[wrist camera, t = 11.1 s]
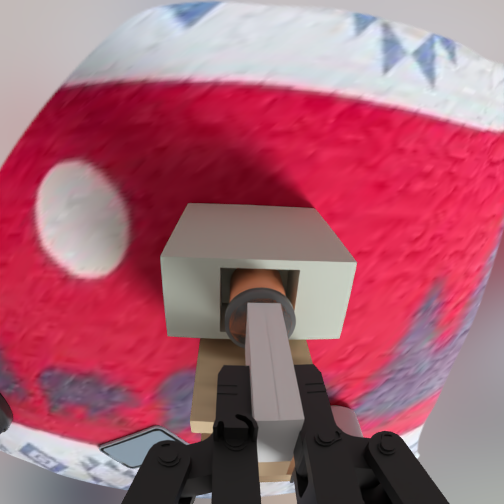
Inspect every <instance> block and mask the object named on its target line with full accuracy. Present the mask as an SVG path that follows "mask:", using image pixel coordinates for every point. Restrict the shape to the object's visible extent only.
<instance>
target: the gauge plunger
mask: <svg viewBox="0 0 504 504" xmlns="http://www.w3.org/2000/svg"><path fill="white" fill-rule="evenodd" d="M248 303H281V308H282V313H283V317H284V322H285V327H286V331H287V336H288V339H289V338H290V336H291V335H292V333H293V332H294V329H295V325H296V317H295V313H294V309H293V306H292V304H291V302H290V300H289V299H288V298H287V297H286V295H285V291H284V287H283V283H282V279H281V275H280V273H279V271H278V270H277V269H249V268H236V270H235V271H234V272H233V274H232V276H231V279H230V301H229V304H228V306H227V308H226V312H225V330H226V333H227V335H228V337H229V338H230V339H231V341H232V342H234V343H235V344H236V345H238V346H239V347H241V348H244V349H245V339H246V322H247V304H248Z"/></svg>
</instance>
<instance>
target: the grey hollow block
mask: <svg viewBox="0 0 504 504" xmlns="http://www.w3.org/2000/svg"><path fill="white" fill-rule="evenodd" d="M160 260H161V274H162V286H163V297H164V307H165V317H166V326H167V335H168V336H174V337H191V338H213V339H230V338H229V337H228V335H227V333H226V330H225V312H226V308H227V306H228V304H229V301H230V279H231V276H232V274H233V272H234V271H235V270H236V268H249V269H277V270H278V271H279V273H280V275H281V279H282V283H283V287H284V291H285V295H286V297H287V298H288V299H289V300H290V302H291V304H292V306H293V309H294V313H295V317H296V325H295V329H294V332H293V333H292V335H291V336H290V338H289V339H288V340H302V339H339V338H340V334H341V330H342V326H343V322H344V318H345V314H346V310H347V306H348V302H349V297H350V293H351V288H352V284H353V279H354V274H355V270H356V265H357V262H356V260H355V259H354V258H353V256H352V255H351V254H350V252H349V251H348V250H347V248H346V247H345V246H344V245H343V243H342V242H341V241H340V239H339V238H338V237H337V235H336V234H335V233H334V232H333V230H332V229H331V228H330V226H329V225H328V224H327V223H326V221H325V220H324V219H323V218H322V216H321V215H320V214H319V213H318V211H317V210H316V209H315V208H302V207H284V206H263V205H239V204H206V203H188V204H187V206H186V208H185V210H184V212H183V214H182V216H181V217H180V219H179V221H178V223H177V225H176V227H175V229H174V231H173V233H172V234H171V236H170V238H169V240H168V242H167V244H166V246H165V248H164V250H163V252H162V254H161V256H160Z"/></svg>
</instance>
